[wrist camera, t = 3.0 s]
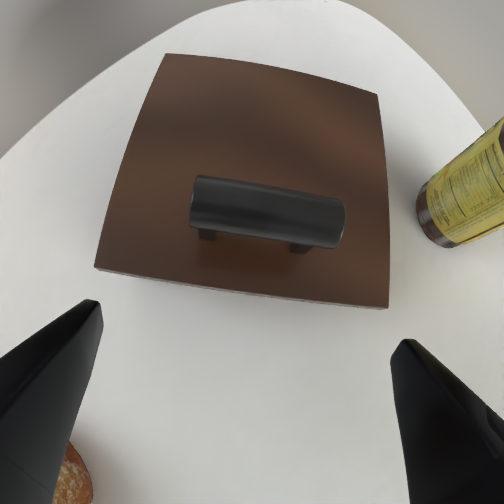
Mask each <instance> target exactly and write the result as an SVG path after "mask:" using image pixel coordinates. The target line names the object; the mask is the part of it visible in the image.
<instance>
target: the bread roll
mask: <svg viewBox="0 0 504 504" xmlns="http://www.w3.org/2000/svg"><path fill="white" fill-rule="evenodd" d="M92 499H93V490H92V484H91V480H90V477H89V474H88V471H87V469H86V467H85V465H84V463H83V461H82V459H81V457H80V456H79V454H78V453H77V451H76V450H75V449H74V447H73V446H72V444H71V443H70V442H68V445H67V449H66V452H65V455H64V459H63V463H62V466H61V470H60V474H59V477H58V481H57V485H56V489H55V493H54V498H53V503H52V504H91V503H92Z"/></svg>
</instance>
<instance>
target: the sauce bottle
mask: <svg viewBox="0 0 504 504" xmlns="http://www.w3.org/2000/svg"><path fill="white" fill-rule="evenodd" d="M416 211H417V215H418V218H419V221H420V223H421V226H422V228H423V230H424V232H425V234H426V235H427V236H428V237H429V239H431V240H432V241H433V242H435V243H436V244H438V245H440V246H443V247H445V248H453V247H455V246H458V245H460V244H467V243H469V242H472V241H474V240H476V239H479V238H481V237H483V236H485V235H488V234H490V233H492V232H494V231H496V230H498V229H500V228H502V227H504V117H503V118H502V119H501V120H499V121H498V122H497V123H496V124H495V125H494V126H492V127H491V128H490V129H489V130H488V131H487V132H485V133H484V134H483V135H482V136H480V137H479V138H478V139H477V140H476V141H475V142H474V143H473V144H471V145H470V146H469V147H468V148H466V149H465V150H464V151H463V152H462V153H460V154H459V155H458V156H457V157H455V158H454V159H453V160H452V161H451V162H449V163H448V164H447V165H446V166H445V167H443V168H442V169H441V170H440V171H438V172H437V173H436V174H435V175H433V177H432V178H431V179H430V181H428V182H427V183H425V184H424V185H423V186H422V188H421V190H420V192H419V194H418V198H417V202H416Z"/></svg>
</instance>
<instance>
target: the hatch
mask: <svg viewBox="0 0 504 504" xmlns="http://www.w3.org/2000/svg"><path fill="white" fill-rule="evenodd" d="M94 268H96V269H98V270H99V271H104V272H110V273H115V274H121V275H126V276H132V277H138V278H144V279H150V280H155V281H161V282H168V283H174V284H180V285H186V286H193V287H199V288H206V289H213V290H219V291H226V292H233V293H240V294H248V295H255V296H263V297H270V298H278V299H286V300H294V301H302V302H311V303H320V304H329V305H338V306H347V307H357V308H367V309H378V310H382V309H387V308H388V306H389V281H390V225H389V200H388V183H387V170H386V159H385V149H384V140H383V131H382V124H381V116H380V109H379V103H378V96H377V94H375V93H372V92H369V91H366V90H363V89H360V88H357V87H354V86H350V85H347V84H344V83H340V82H337V81H333V80H329V79H326V78H322V77H318V76H314V75H310V74H306V73H302V72H298V71H293V70H288V69H284V68H279V67H274V66H269V65H263V64H258V63H252V62H245V61H239V60H232V59H224V58H216V57H207V56H197V55H185V54H169V53H166V54H165V56H164V58H163V60H162V62H161V64H160V66H159V68H158V70H157V73H156V75H155V77H154V79H153V82H152V84H151V86H150V88H149V91H148V93H147V95H146V98H145V100H144V103H143V105H142V108H141V110H140V113H139V115H138V118H137V120H136V123H135V126H134V128H133V131H132V134H131V136H130V139H129V142H128V145H127V148H126V150H125V153H124V156H123V159H122V162H121V165H120V168H119V172H118V175H117V178H116V181H115V185H114V188H113V191H112V195H111V198H110V202H109V205H108V209H107V213H106V216H105V220H104V224H103V228H102V232H101V236H100V240H99V245H98V249H97V254H96V258H95V263H94Z"/></svg>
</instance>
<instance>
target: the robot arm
mask: <svg viewBox="0 0 504 504" xmlns="http://www.w3.org/2000/svg"><path fill="white" fill-rule="evenodd" d="M103 326H104V325H103V317H102V311H101V306H100V303H99V302H98V301H94V300H89V299H86V300H84V301H82V302H81V303H79V304H78V305H76V306H75V307H73V308H72V309H70V310H69V311H67V312H66V313H64V314H63V315H61V316H60V317H58V318H57V319H55V320H54V321H52V322H51V323H49V324H48V325H46V326H45V327H44V328H42V329H41V330H39V331H38V332H36V333H35V334H34V335H32V336H31V337H29V338H28V339H26V340H25V341H24V342H22V343H21V344H19V345H18V346H17V347H15V348H14V349H12V350H11V351H10V352H8V353H7V354H5V355H4V356H3V357H1V358H0V504H52V503H53V498H54V493H55V489H56V485H57V481H58V477H59V474H60V470H61V466H62V463H63V459H64V455H65V452H66V449H67V445H68V442H69V439H70V435H71V432H72V429H73V426H74V423H75V420H76V417H77V414H78V411H79V408H80V405H81V402H82V399H83V396H84V394H85V391H86V388H87V385H88V382H89V380H90V377H91V373H92V370H93V366H94V362H95V358H96V354H97V350H98V346H99V343H100V339H101V335H102V332H103ZM390 365H391V373H392V382H393V392H394V401H395V407H396V413H397V418H398V424H399V429H400V435H401V441H402V447H403V453H404V460H405V467H406V474H407V482H408V490H409V499H410V504H504V420H503V419H502V418H501V417H499V416H498V415H497V414H496V413H495V412H494V411H493V410H492V409H491V408H490V407H489V406H488V405H486V403H484V402H483V401H482V400H481V399H480V398H479V397H478V396H477V395H476V394H475V393H474V392H473V391H472V390H471V389H469V388H468V387H467V386H466V385H465V384H464V383H463V382H462V381H461V380H460V379H459V378H458V377H456V376H455V375H454V374H453V373H452V372H451V371H450V370H449V369H448V368H447V367H445V366H444V365H443V364H442V363H441V362H440V361H439V360H438V359H437V358H435V357H434V356H433V355H432V354H431V353H430V352H429V351H428V350H426V349H425V348H424V347H423V346H422V345H421V344H420V343H418V342H417V341H416V340H415V339H403V340H402V341H401V342H400V344H399V345H398V347H397V348H396V350H395V351H394V353H393V354H392V356H391V360H390Z"/></svg>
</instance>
